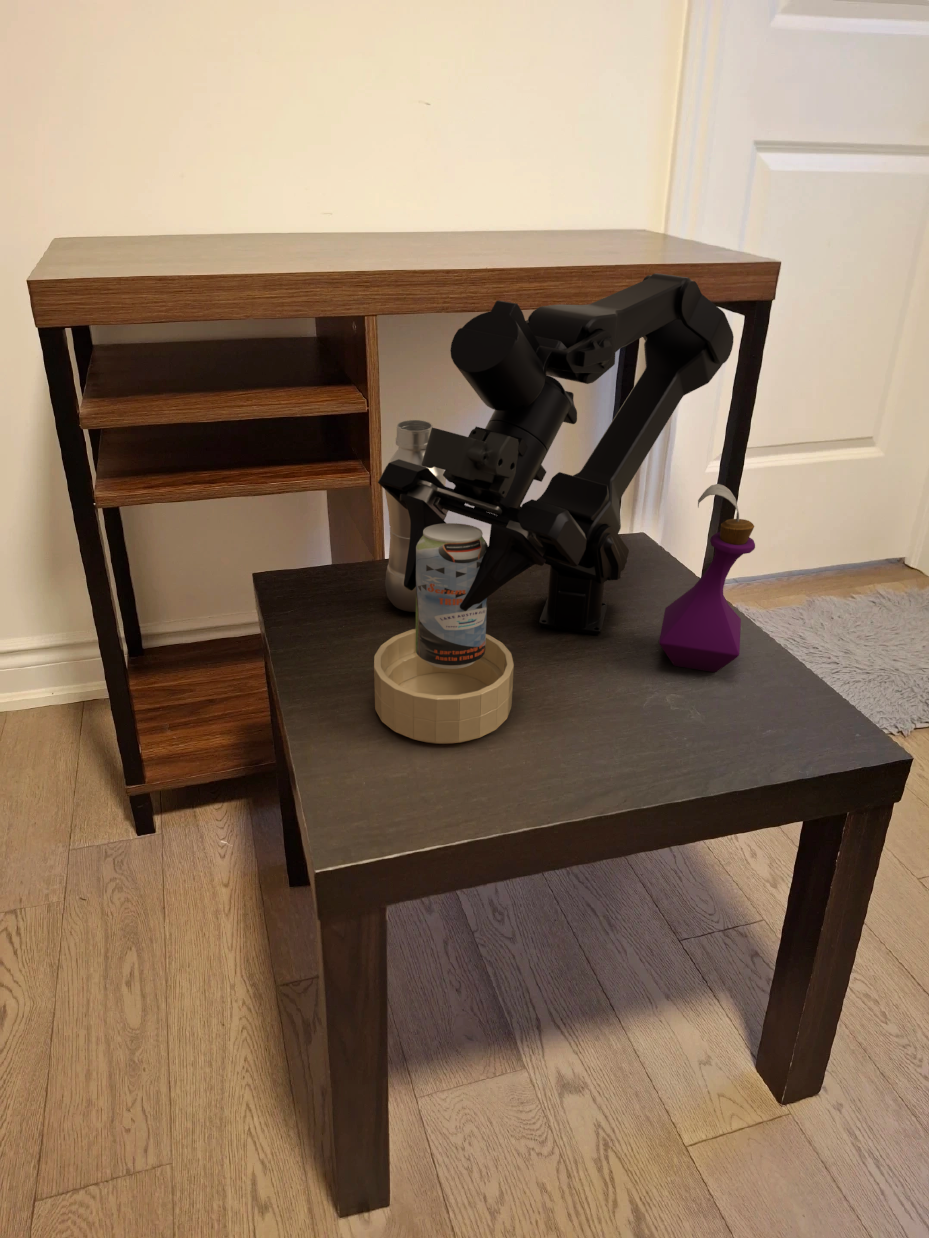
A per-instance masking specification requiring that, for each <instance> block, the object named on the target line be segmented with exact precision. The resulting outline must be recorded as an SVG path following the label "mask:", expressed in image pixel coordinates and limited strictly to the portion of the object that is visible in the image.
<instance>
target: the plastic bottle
mask: <svg viewBox="0 0 929 1238" xmlns="http://www.w3.org/2000/svg"><path fill="white" fill-rule="evenodd" d="M432 428H434V426H433V424H432V423H431V422H429V421H426V420H423V419H422V420H421V419H409V420H402V421H400V422H398V423H397V424H396V437H395V445H396V446H397V447H398V448H397V450H396V451H395V453H394V454H393V455H392V457H391V458H390V459H389V461H388V463H390V462H393V461H395V460H398V459H400V460H403V461H406V462H410V463H413V464H416V465H420V466H422V461H423V457H424V454H425V450H426V447H427V443H428V439H429V436H430V432H431V429H432ZM423 467H425V466H423ZM426 468H428V467H426ZM428 469H429V470H430V471H431V472H432V473H433V474H434V475H435V476H436V477H437V478H438V479H439V481H440V482H441V483H442V484H443V485H444V486H445V487H447V486H446V484H447V479H446V478H445V477H444V476H443V473H444V472H445V470H443V469H440V468H437V467H433V468H428ZM384 493H385V498H386V504H387V510H388V525H389V549H388V550H389V551H388V552H389V553H388V563H387V567H386V571H385V580H384V587H385V592H386V596H387V599H388V601H390V603H391V604H392V605H393V607H395V608H396V609H398V610H400V611H403V612H409V613H416V587H415V588H414V589H413V590H412V591H411V590H408V589H407V588H406V587H405V586H404V577H405V570H406V563H407V556H408V549H409V542H410V517H409V512H408V510H407V509H405V508H404V507H403V506H402V505H401V504H400V503H399V502H398V501H397V500H396V499H395V498H394V497H393V496H391V495H390V494H389V493H388V492H387V491H386V490H385V489H384Z"/></svg>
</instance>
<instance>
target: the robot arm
mask: <svg viewBox="0 0 929 1238" xmlns="http://www.w3.org/2000/svg"><path fill="white" fill-rule="evenodd" d="M641 338H643V340H644V343H643V348H644V349H643V350H644V360H645V361H644V362H645V368H644V370H643V372H642V373H641V375H640V377H639V378H638V380H637V381H636V382H635V384H634V386H633V388H632V389H631V391H630V393H629V394H628V396H627V397H626V399H625V400H624V402H623V404H622V405H621V407H620V408H619V409H618V411H617V413H616V414H615V416H614V418H613V419H612V421H611V422H610V424H609V425H608V427H607V429H606V430H605V432H604V434H603V435H602V436H601V438H600V440H599V441H598V442H597V444H596V447H595V448H594V449H593V451H592V452H591V454H590V455H589V457H588V459H587V460H586V462H585V463H584V465H583V466H582V468H581V469H580V471H579V472H576V473H575V474H573V475H572V474H569V473H566V472H565V473H564V472H561V471H558V472H557V473H556V474H555V475H553V476H552V478H550V481H549V483H548V485H547V487H546V489H545V490H544V491H543V493H542V494H541V495H540V496H539V497H538V498H537V499H532V498H531V499H530V500H528V501H526V502H524V499H525V498H526V496H527V493H528V492H529V490H530V488H531V486H532V484H533V482H534V481H538V482H541V483H542V482H543V480H544V478H545V476H546V474H547V470H546V469H545V468H544V466H543V465H542V464H543V462H544V460H545V458H546V456H547V454H548V452H549V450H550V448H551V447H552V444H553V443H554V441H555V439H556V436H557V435H558V433H559V431H560V429H561V427H562V425H563V423H566V424H570V425H575V424H576V423H577V421H578V410H577V408H576V406H575V402H574V393H573V392H572V391H568V390H565V388H564V385H562V383H561V382H560V381H559V380H557V379H562V380H567V381H571V382H577V383H581V384H584V385H585V384H586V385H589V384H593V383H595V382H596V381H597V380H599V378H601V377H602V376H603V375H604V374H605V373H607V372H608V371H610V369H611V368H612V367H613V366H614V365H616V353H617V352H618V351H619V350H620V349H621V348H624V347H627V346H629V345H630V344H632V343H634V342H636V341H638V340H639V339H641ZM733 346H734V332H733V329H732V327H731V325H730V323H729V320H728V317H727V316H726V313H725V312H724V310H722V309H721V308H720V307H719V306H717V305H716V304H715V303H713V302H712V301H711V300H710V299H709V298H707V297H706V296H705V295H704V294H703V293H702V292H701V289H700V286H699V285H698V283H697V281H695V280H692V279H691V278H690V277H686V276H680V275H674V274H673V275H672V274H666V273H652V274H648V275H646V276H645V277H644V278H643V279H642V281H639V282H638V283H635V284H633V285H631V286H627V287H626V288H624V289H622V290H618V291H616V292H615V293H612V294H610V295H608V296H605V297H603V298H601V299H599V300H596V301H593V302H591V303H590V304H552V305H541V306H539V307H537V308H536V309H534V310H533V311H532V312H531V313H530V314H529V315H528V317H527V320H526V319H525V315H524V313H523V311H522V309H521V307H520V305H519V304H518V302H517V303H516V302H511V301H504V300H496V301H495V303H494V305H493V306H492V308H491V310H490V311H486V312H484V313H483V312H482V313H480V314H477V315H476V316H474V317H473V318H471V319H470V320H469V321H467V322H465V324H464V325H463V326H462V327H460V328H458V329H457V330H456V332H455V334H454V336H453V338H452V341H451V344H450V358H451V360H452V363H453V364H454V365H455V367H456V368H457V370H459V372H460V373H461V375H462V376H463V378H464V379H465V380H466V382H468V384H469V386H470V387H471V388H472V389H473V390H474V392H475V394H476V395H477V396H478V397H479V399H480V400H481V401H482V403H483V404H484V405H485V406H486V407H488V408H489V409H492V410H493V412H492V414H491V417H490V418H489V421H488V422H487V424H486V426H485V428H484V427H479V426H475V427H474V428H473V429H471V430H470V432H469V434H468V435H467V436H465V435H462V434H459V433H455V432H451V431H447V430H444V429H440V428H436V427H433V428H432V429H431V432H430V436H429V439H428V443H427V447H426V450H425V454H424V457H423V461H422V466H420V465H416V464H413V463H410V462H406V461H403V460H400V459H398V460H395V461H393V462H390V463H389V462H388V463H387V464H386V466H385V468H384V470H383V472H382V474H381V475H380V477H379V479H378V481H377V483H378V485H379V486H381V488H383V489H384V491H385V490H386V491H387V492H388V493H389V494H390V495H391V496H393V497H394V498H395V499H396V500H397V501H398V502H399V503H400V504H401V505H402V506H403V507H404V508H405V509H407V510H408V512H409V517H410V542H409V549H408V556H407V563H406V570H405V577H404V586H405V587H406V588H407V589H408V590H411V591H412V590H413V589H414V588H415V587H416V546H417V543H418V542H419V540H420V539H421V537H422V536H423V530H424V529H425V528H426V527H428V526H431V525H436V524H444V523H447V522H446V521H445V520H446V518H447V515H448V513H449V512H451V513H454V514H458V515H461V516H463V517H466V518H470V519H472V520H476V521H479V522H481V523H485V524H488V525H490V532H489V539H488V549H487V551H486V553H485V555H484V557H483V559H482V561H481V564H480V567H479V570H478V572H477V575H476V577H475V580H474V582H473V584H472V586H471V588H470V590H469V592H468V594H467V595H466V597H465V598H464V600H463V602H462V603H461V604H460V608H461V609H462V610H464V611H467V610H468V609H469V608H470V607H471V606H473V605H475V604H480V603H481V602H482V601H483V600H485V599H486V598H487V599H488V598H489V597H490V596H491V595H492V594H494V593H495V592H496V591H497V590H498V589H500V588H502V587H503V586H504V585H506V584H507V583H508V582H509V581H511V580H513V579H514V578H516V577H517V576H519V575H521V573H523V572H526V570H528V569H530V568H532V567H533V566H535V565H537V566H540V567H542V566H544V565H548V566H549V577H548V578H549V579H548V593H547V598H546V601H545V604H544V605H543V606H544V607H543V610H542V612H541V615H540V618H539V620H538V626H539V627H541V628H547V629H548V628H549V629H555V630H562V631H569V632H576V633H583V634H591V635H600V634H602V631H603V627H604V621H605V618H606V615H607V609H608V604H607V603H606V602H603V597H604V589H605V583H606V582H608V581H618V580H620V579H621V574H622V572H623V571H624V570H625V568H626V565H627V563H628V557H629V554H630V548H629V547H628V546H627V545H626V543H625V541H624V540H623V538H621V536H620V534H619V533H620V531H621V528H622V523H621V508H620V501H621V499H622V497H623V495H624V494H625V492H626V491H627V489H628V487H629V486H630V484H631V483H632V481H633V479H634V477H635V476H636V475H637V472H638V470H639V469H640V468H641V466H642V464H643V463H644V461H645V459H646V457H647V456H648V454H649V452H650V451H651V450H652V448H653V446H654V445H655V444H656V441H657V440H658V438H659V436H660V434H661V433H662V432H663V430H664V429H665V427H666V425H667V423H668V422H669V420H670V419H671V417H672V416H673V414H674V413H675V410H676V408H677V407H678V405H679V404H680V402H681V401H682V399H683V398H684V396H686V395H688V394H690V393H692V392H694V391H696V390H698V389H700V388H703V387H704V386H706V385H708V384H709V383H710V382H711V380H712V379H714V376H716V374H717V373H718V372H719V370H720V369H721V368H722V366H723V365H724V364H726V362H727V361H728V359H729V358H730V356H731V353H732V351H733ZM423 466H425V467H423ZM426 467H428V468H433V467H437V468H440V469H443V470H444V471H445V472H444V473H443V476H444V477H445V478H446V481H447V482H449V483H452V484H453V485H454V487H453V488H452V487H448V486H444V485H443V484H442V483H441V482H440V481H439V479H438V478H437V477H436V476H435V475H434V474H433V473H432V472H431V471H430V470H429V469H428V468H426ZM523 502H524V503H523Z"/></svg>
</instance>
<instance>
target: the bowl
mask: <svg viewBox="0 0 929 1238" xmlns="http://www.w3.org/2000/svg"><path fill="white" fill-rule="evenodd" d="M373 661H374V662H373V674H374V675H373V676H374V677H373V679H374V680H373V681H374V707H375V708H374V709H375V712H376V713H377V715H378V717H379V719H380V721H381V722H382V723H383V724H384V725H386V726H387V728H390V729H391V730H392V731H393V732H394V733H397V734H399V735H401V736H404V737H407V738H408V739H411V740H415V741H418V742H422V743H423V742H424V743H428V744H437V745H438V744H439V745H441V744H442V745H449V744H452V745H453V744H459V743H466V742H469V741H473V740H476V739H479V738H482V737H484V736H486V735H488V734H491V733H493V732H494V731H496V730H497V729H498V728H499V727H500V726H501V725H502V724H503V723H504V722H505V721H506V720H507V719H508V717H509V715H510V712H511V709H512V705H513V704H512V703H513V686H514V669H515V664H514V659H513V655H512V652H511V651H510V650H509V649H508V647H507V646H505V644H504V643H503V642H501V641H500V640H498V639H496V638H495V637H493V636H492V635H490V634H488V633H486V643H485V654H484V655H483V657H481V658H480V659H479V660H477V661H475V662H474V663H473V664H471V665H470V666H467V667H463V668H458V669H445V668H439V667H435V666H432V665H430V664H428V663H427V662H426V661H425V660H424V659H422V658H420V657H419V656H418V655H417V653H416V628H412V629H409V630H406V631H404V632H401V633H399V634H396V635H393V636H392V637H390V638H389V639H388V640H386V641H385V642H384V643H382V644H381V645H380V646H379V648H378V649H377V651H376V652H375V654H374V656H373Z"/></svg>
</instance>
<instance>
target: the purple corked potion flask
mask: <svg viewBox="0 0 929 1238" xmlns="http://www.w3.org/2000/svg"><path fill="white" fill-rule="evenodd" d="M709 496H719V497H721V498H724V499H726V500H727V501H729V503H731V504H732V505H733V507H734V508H735V510H736V518H730V519H726V520H725V521H723V522H722V523H720V529H719V532H716V533H714V534H713V535H712V536H711V537H710V538H709V539H710V540H709V541H710V545H711V547H713V548H714V553H715V554H714V556H713V558H712V561H711V562H710V564H709V565H708V567H707V569H706V570H705V571H704V572H703V574H702V575H701V577H700V578H699V580H697V582H696V583H695V584H694V586H692V587H691V588H690V589H689V590H687V591H685V593H683V594H682V595H681V596H679V597H678V598H676V600H674V601H673V602H671V603H670V604H669V605H667V606H665V608H664V612H663V613H664V614H663V617H662V624H661V629H660V634H659V638H658V639H659V640H658V644H659V646H660V647H661V649H662V650H663V651H664V653H665V655H666V656H667V658H668V659H669V661H670V662H671V664H672V665H673V666H675V667H680V668H685V669H690V670H691V669H692V670H698V671H703V672H704V671H705V672H710V673H718V672H719V671H720V670H721V669H723V668H724V667H726V666H727V665H728V664H729V663H731V662H733V661H734V660H735V659H737V658H738V657H739V656H740V650H741V625H742V619H741V617H740V616H739V615H738V614H737V612H736V611H734V609H733V608H732V606H730V605H729V603H728V601H727V599H726V597H725V595H724V587H725V583H726V580H727V577H728V575H729V573H730V570H731V568H732V567H733V566H734V565H735V563H736V562H737V560H738V559H739V558H740V557H742V556H743V555H747V554H750V553H752V552H753V551H755V549H756V542H755V541H754V538H751V537H750V536H751V534H752V532H753V530H754V529H755V525H754V523H753V522H752V521H750V520H748V519H744V518H740V512H739V508H738V502H737V499H736V497H735V495H734V494H733V492H732V491H731V490H730V489H729V488H728V487H726V486H725V485H723V484H721V483H716V484H712V485H710V486H708V487H707V488H706V489H705V490H704V491H703V492H702V494H701V495H700V497H699V498H698V499H697V508H700V507H699V506H700V503H702V501H704V499H705V498H707V497H709Z"/></svg>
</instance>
